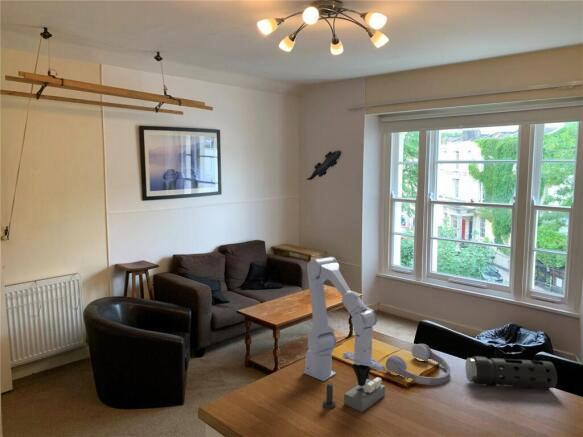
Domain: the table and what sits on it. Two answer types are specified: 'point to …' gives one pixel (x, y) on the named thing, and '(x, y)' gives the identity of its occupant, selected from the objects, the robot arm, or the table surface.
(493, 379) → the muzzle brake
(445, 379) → the headphones
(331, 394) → the post
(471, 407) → the table surface
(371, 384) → the block
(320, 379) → the robot arm
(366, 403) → the block
